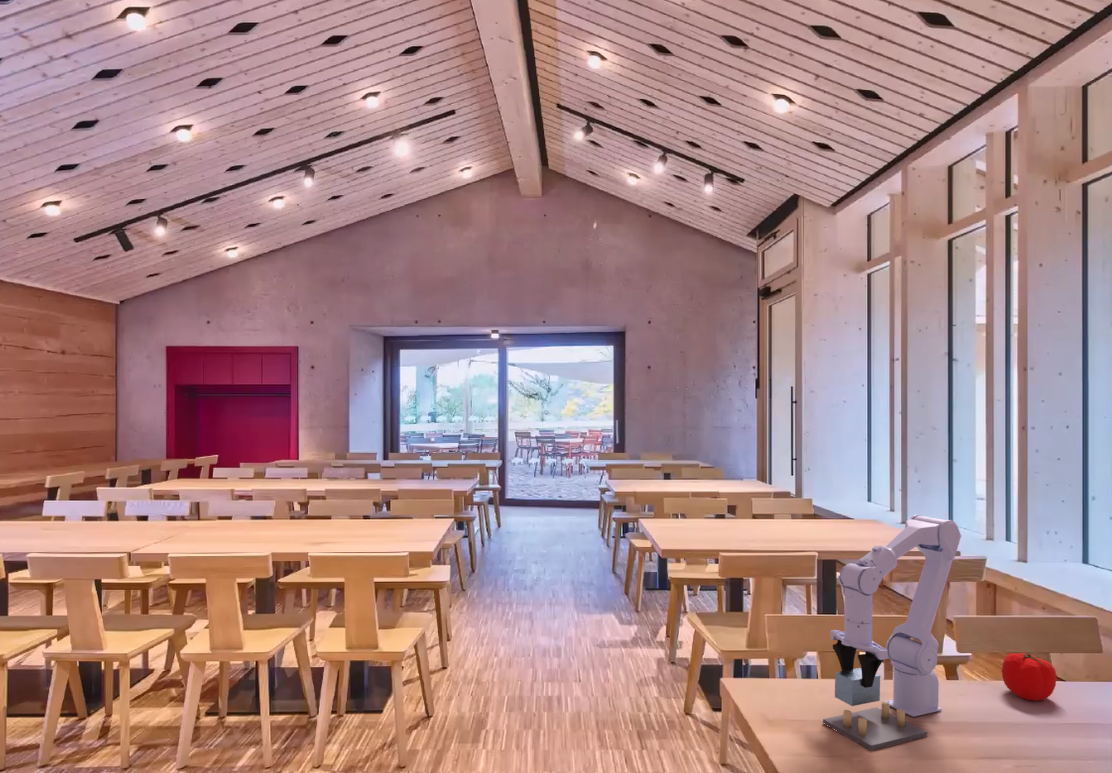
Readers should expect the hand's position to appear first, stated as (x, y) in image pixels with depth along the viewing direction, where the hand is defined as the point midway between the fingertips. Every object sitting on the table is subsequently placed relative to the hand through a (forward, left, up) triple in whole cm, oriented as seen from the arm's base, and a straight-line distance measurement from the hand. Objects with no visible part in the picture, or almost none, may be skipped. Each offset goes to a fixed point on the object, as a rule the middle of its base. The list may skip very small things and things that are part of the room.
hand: (857, 681), depth 160 cm
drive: (0, 0, -4) cm, 4 cm away
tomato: (-50, +6, -9) cm, 51 cm away
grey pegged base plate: (0, +5, -8) cm, 10 cm away
